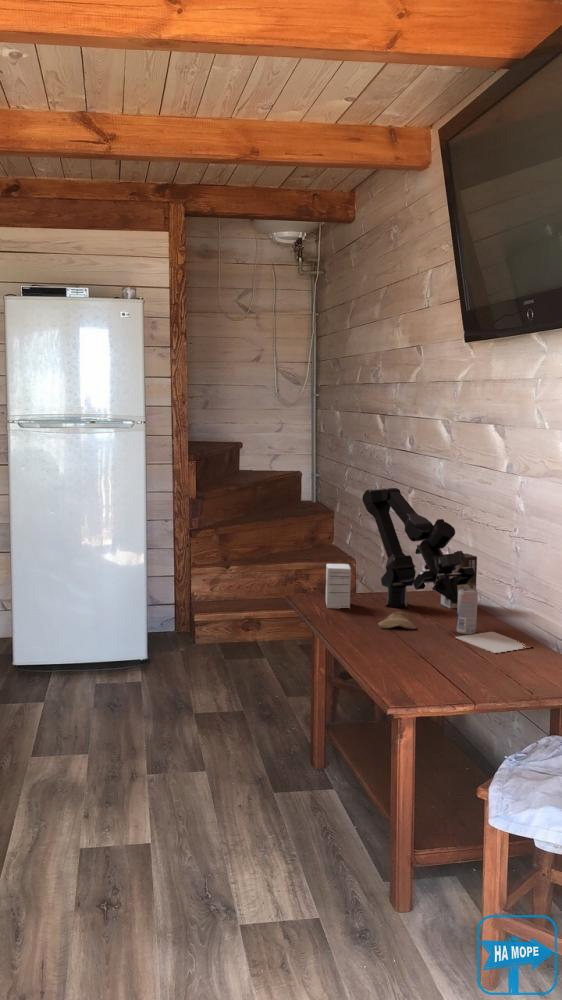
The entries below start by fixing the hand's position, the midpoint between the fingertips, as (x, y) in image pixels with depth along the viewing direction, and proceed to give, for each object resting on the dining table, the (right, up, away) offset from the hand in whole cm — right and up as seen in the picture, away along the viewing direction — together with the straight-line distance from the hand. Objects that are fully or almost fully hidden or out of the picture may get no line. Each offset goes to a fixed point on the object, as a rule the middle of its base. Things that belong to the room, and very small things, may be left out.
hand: (456, 602), depth 246 cm
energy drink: (+2, -8, -3) cm, 9 cm away
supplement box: (-32, -4, +24) cm, 40 cm away
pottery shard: (-17, -7, +3) cm, 18 cm away
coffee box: (+6, -4, +27) cm, 28 cm away
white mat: (+7, -9, -13) cm, 18 cm away
